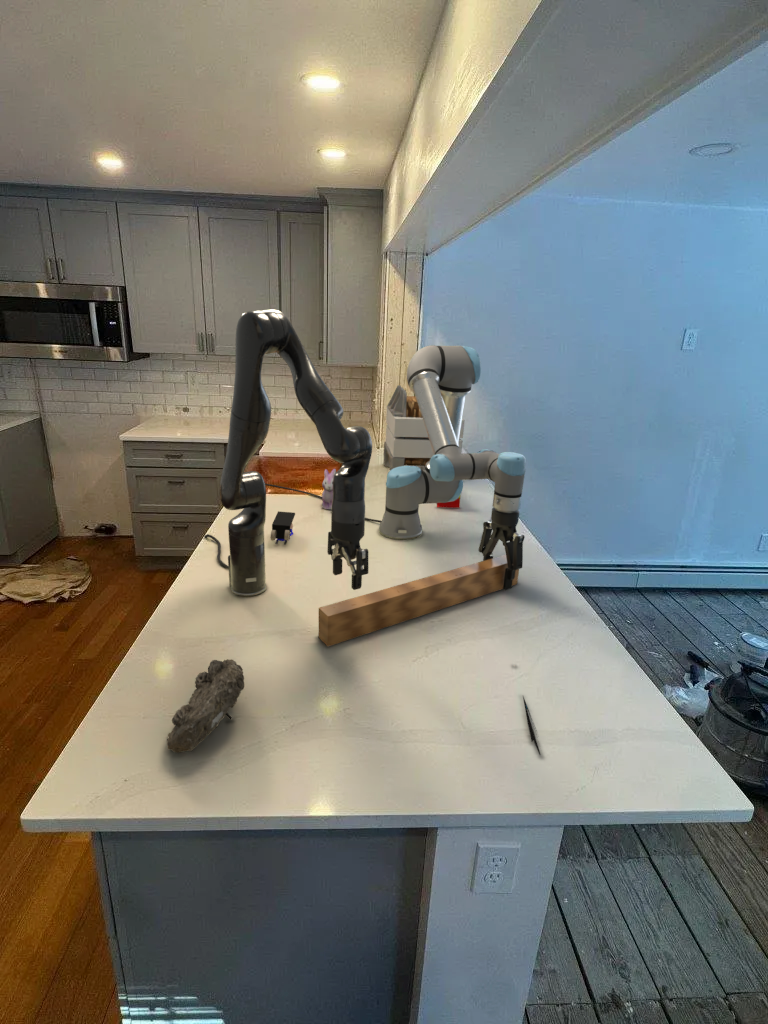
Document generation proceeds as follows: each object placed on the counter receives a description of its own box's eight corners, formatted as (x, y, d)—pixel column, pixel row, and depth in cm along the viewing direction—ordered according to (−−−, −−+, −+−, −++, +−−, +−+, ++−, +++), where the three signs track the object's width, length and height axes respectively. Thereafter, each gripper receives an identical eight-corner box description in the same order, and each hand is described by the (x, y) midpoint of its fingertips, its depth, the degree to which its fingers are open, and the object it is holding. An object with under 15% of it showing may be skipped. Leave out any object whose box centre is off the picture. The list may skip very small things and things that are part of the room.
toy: (454, 466, 253) (465, 475, 223) (452, 495, 255) (463, 509, 226) (427, 465, 252) (435, 474, 223) (425, 494, 255) (433, 508, 226)
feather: (514, 670, 128) (520, 664, 128) (540, 759, 101) (547, 752, 101) (508, 666, 128) (514, 660, 127) (532, 755, 101) (539, 747, 101)
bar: (505, 577, 170) (508, 553, 168) (517, 584, 167) (520, 559, 164) (318, 637, 136) (318, 607, 133) (327, 646, 132) (328, 616, 129)
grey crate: (382, 463, 289) (386, 382, 275) (445, 464, 293) (451, 384, 279) (390, 482, 257) (394, 392, 243) (460, 483, 261) (468, 394, 247)
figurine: (325, 511, 218) (326, 473, 213) (316, 503, 226) (316, 467, 221) (348, 508, 222) (349, 471, 217) (337, 500, 231) (338, 465, 225)
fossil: (192, 660, 117) (244, 628, 112) (224, 691, 120) (276, 661, 115) (142, 746, 98) (202, 712, 93) (182, 779, 101) (242, 748, 96)
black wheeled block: (290, 551, 185) (296, 529, 198) (289, 530, 182) (295, 510, 195) (270, 550, 185) (277, 528, 198) (268, 530, 181) (276, 509, 195)
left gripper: (318, 509, 130) (317, 573, 136) (350, 529, 119) (348, 597, 125) (346, 504, 134) (344, 566, 140) (379, 523, 123) (377, 589, 129)
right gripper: (470, 500, 163) (463, 572, 171) (524, 522, 147) (513, 600, 155) (489, 496, 167) (481, 566, 175) (543, 517, 151) (532, 594, 159)
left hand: (346, 581), depth 132 cm, fingers open, 8 cm apart
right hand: (496, 582), depth 165 cm, fingers open, 8 cm apart
